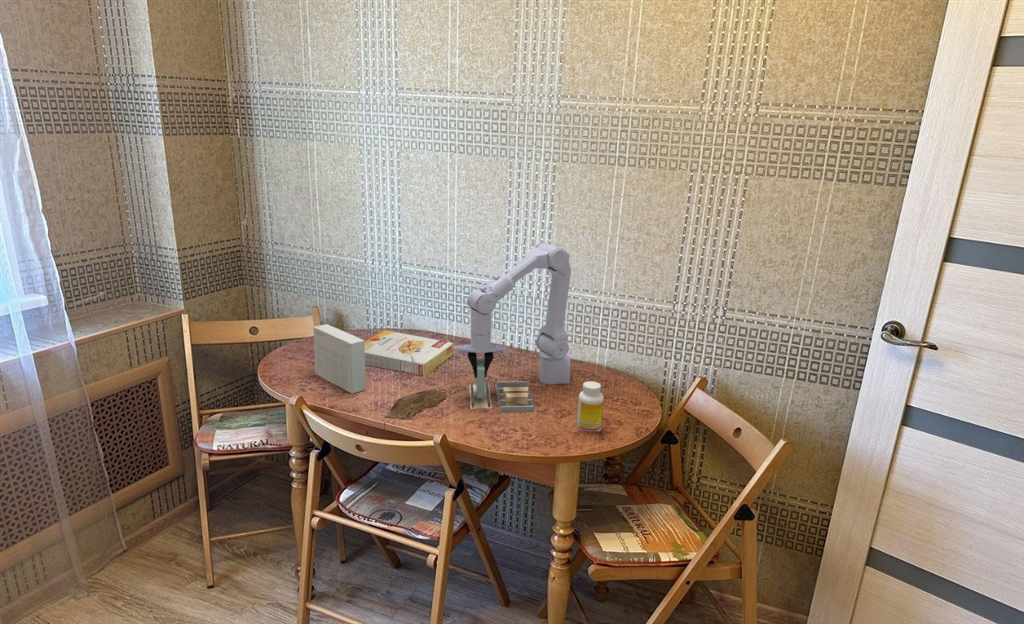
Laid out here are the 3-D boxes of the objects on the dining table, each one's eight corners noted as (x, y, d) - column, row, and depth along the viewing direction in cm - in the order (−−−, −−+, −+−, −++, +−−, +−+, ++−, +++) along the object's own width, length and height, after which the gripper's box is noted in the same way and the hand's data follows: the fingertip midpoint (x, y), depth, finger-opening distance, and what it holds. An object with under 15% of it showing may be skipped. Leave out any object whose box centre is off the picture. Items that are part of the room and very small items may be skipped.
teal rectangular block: (484, 397, 178) (484, 369, 175) (477, 398, 178) (477, 369, 174) (482, 385, 185) (483, 357, 182) (476, 385, 185) (476, 357, 182)
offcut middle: (526, 399, 181) (527, 386, 179) (527, 403, 178) (528, 390, 177) (502, 399, 180) (503, 387, 179) (503, 403, 178) (503, 391, 176)
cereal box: (383, 328, 222) (454, 340, 213) (384, 343, 224) (454, 355, 215) (350, 348, 205) (426, 362, 195) (351, 364, 206) (426, 378, 197)
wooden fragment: (399, 425, 167) (399, 421, 167) (372, 412, 173) (372, 409, 173) (463, 393, 187) (463, 390, 186) (436, 383, 193) (436, 380, 192)
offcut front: (526, 405, 177) (527, 392, 176) (527, 409, 174) (528, 396, 173) (505, 406, 176) (506, 393, 175) (506, 410, 174) (506, 397, 173)
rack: (527, 386, 192) (527, 378, 191) (535, 414, 174) (535, 406, 173) (495, 386, 191) (495, 379, 190) (499, 415, 173) (499, 407, 172)
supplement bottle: (604, 433, 165) (608, 389, 161) (581, 435, 163) (584, 391, 159) (596, 421, 171) (599, 378, 167) (573, 423, 169) (576, 380, 166)
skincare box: (367, 389, 187) (365, 340, 182) (352, 395, 183) (349, 344, 178) (330, 369, 200) (326, 322, 196) (314, 374, 197) (311, 326, 192)
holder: (488, 387, 190) (488, 379, 189) (491, 411, 175) (492, 403, 174) (469, 387, 190) (469, 380, 189) (470, 411, 175) (470, 403, 174)
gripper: (505, 327, 180) (504, 370, 185) (455, 327, 179) (455, 371, 183) (507, 335, 174) (506, 380, 178) (455, 336, 172) (455, 380, 177)
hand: (480, 376), depth 180 cm, fingers closed on teal rectangular block, 2 cm apart
